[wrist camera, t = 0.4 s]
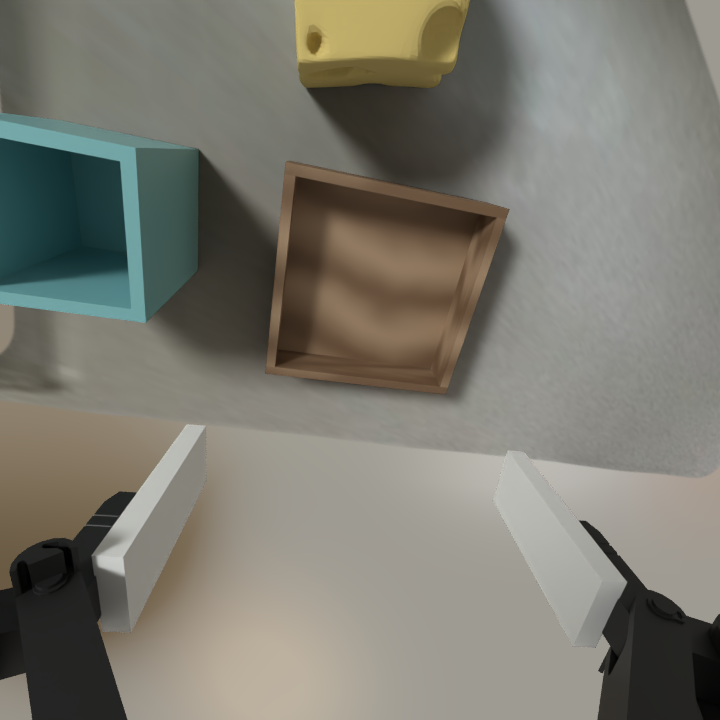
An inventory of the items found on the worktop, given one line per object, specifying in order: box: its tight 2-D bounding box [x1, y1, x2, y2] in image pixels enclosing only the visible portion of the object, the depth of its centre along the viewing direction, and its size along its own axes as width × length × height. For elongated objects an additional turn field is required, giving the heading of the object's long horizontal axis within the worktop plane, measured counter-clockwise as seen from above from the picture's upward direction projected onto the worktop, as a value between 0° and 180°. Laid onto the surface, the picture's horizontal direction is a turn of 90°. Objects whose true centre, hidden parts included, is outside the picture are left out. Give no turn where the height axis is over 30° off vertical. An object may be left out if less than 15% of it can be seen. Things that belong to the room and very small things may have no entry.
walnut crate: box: [265, 161, 509, 394], centre depth 36 cm, size 18×18×4 cm
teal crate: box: [0, 113, 199, 323], centre depth 27 cm, size 10×10×12 cm
